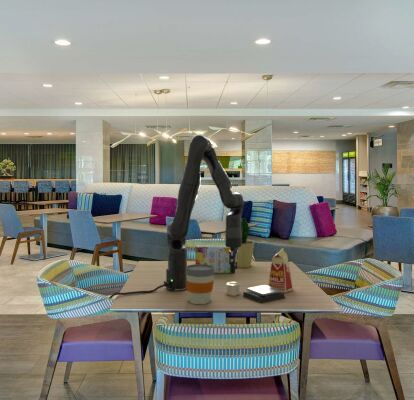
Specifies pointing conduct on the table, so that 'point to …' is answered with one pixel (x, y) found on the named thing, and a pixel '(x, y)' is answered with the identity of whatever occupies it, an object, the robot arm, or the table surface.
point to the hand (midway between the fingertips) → (233, 271)
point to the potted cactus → (245, 247)
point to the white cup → (233, 288)
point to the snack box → (213, 257)
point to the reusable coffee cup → (199, 283)
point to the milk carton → (280, 272)
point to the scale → (263, 298)
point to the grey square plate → (264, 290)
